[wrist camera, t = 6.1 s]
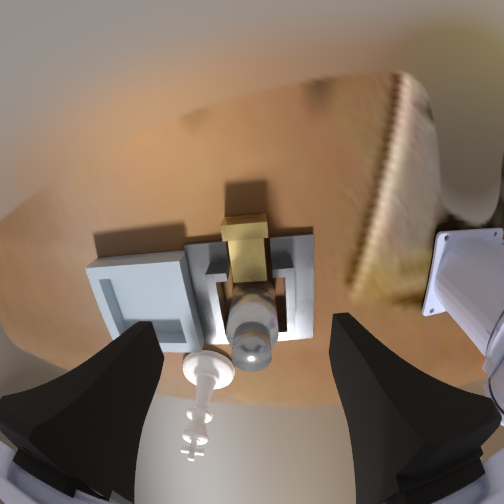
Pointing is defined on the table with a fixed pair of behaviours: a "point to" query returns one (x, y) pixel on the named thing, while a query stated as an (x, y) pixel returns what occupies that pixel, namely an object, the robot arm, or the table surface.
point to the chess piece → (203, 394)
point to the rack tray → (149, 297)
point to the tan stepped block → (246, 246)
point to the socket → (283, 265)
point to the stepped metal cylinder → (252, 325)
